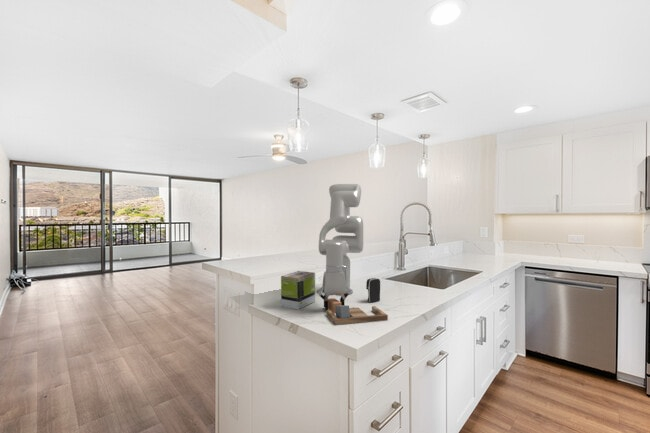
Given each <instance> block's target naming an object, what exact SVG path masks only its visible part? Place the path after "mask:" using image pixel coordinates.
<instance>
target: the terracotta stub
mask: <svg viewBox="0 0 650 433" xmlns="http://www.w3.org/2000/svg"><path fill="white" fill-rule="evenodd" d="M327 301H328V310H331V311H332V312H333V313H334V314H336V311H335V306H341V302H340V300H338V299H337V298H335V297H331V298H328V299H327Z"/></svg>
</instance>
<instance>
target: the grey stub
mask: <svg viewBox="0 0 650 433" xmlns="http://www.w3.org/2000/svg"><path fill="white" fill-rule="evenodd" d="M349 308H350V305H346V304H344V305H341V306H335V311H336V313H335V316H336V317H337V318H348V317H350V312H349Z"/></svg>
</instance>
